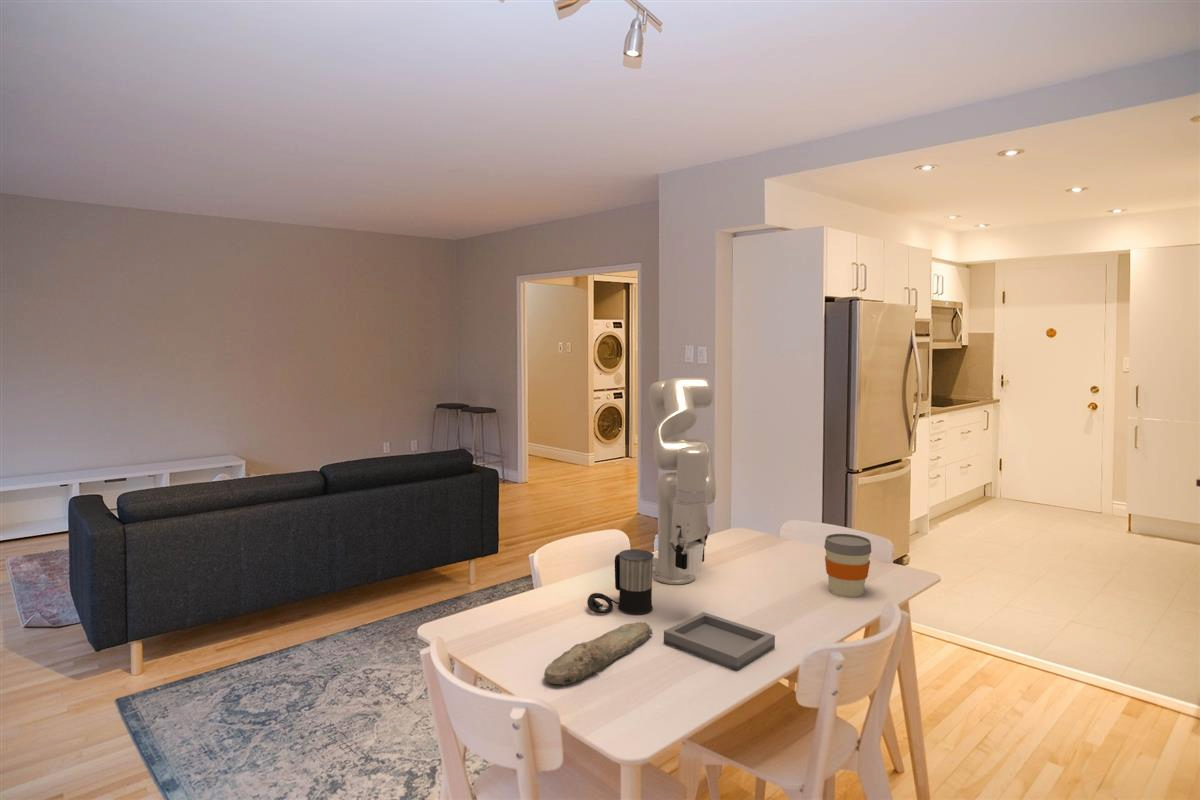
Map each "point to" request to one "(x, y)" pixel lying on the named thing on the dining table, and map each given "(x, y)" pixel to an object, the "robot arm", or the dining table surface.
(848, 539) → the reusable coffee cup
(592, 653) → the elongated rock
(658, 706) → the dining table surface
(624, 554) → the milk frother
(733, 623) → the serving tray
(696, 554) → the white cup
